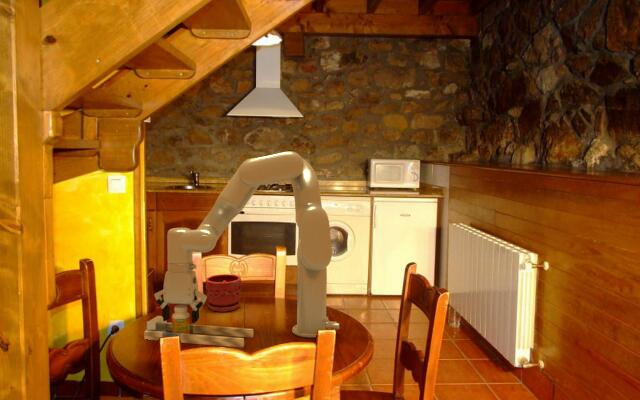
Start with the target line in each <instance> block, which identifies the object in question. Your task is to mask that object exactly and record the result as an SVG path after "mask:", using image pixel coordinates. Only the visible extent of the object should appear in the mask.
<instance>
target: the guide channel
mask: <svg viewBox="0 0 640 400" xmlns="http://www.w3.org/2000/svg"><path fill="white" fill-rule="evenodd" d="M143 331H144V330H143ZM143 334H144V336H143V337H144V340H146V339H148V340H149V341H158V340H159V338H160V337H167V336H176V335H179V336H180V340H181V342H180V343H184V344H194V345H195V344H196V345H208V346H210V345H211V346H220V347H230V348H231V347H232V348H244V347H245V338H248V339H249V338H251V339H252V338H254V329H253V328H245V327H244V328H243V327H231V326H217V325H205V324H204V325H203V324H194V323H191V324H190V334H184V333H172V322H167V320H166V321H163V317H162V315H156V316H155V317H153V318H152V319H150V320H148V321H146V330H145V331H144V333H143Z"/></svg>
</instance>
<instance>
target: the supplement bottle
mask: <svg viewBox="0 0 640 400" xmlns="http://www.w3.org/2000/svg"><path fill="white" fill-rule="evenodd" d="M173 311H174V312H173V313H172V315H171V323H172V331H171V333H184V334H191V333H190V322H191V320H190V319H191V318H190V317H191V316H190V312H188V304H176V305H174V308H173Z"/></svg>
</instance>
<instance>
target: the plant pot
mask: <svg viewBox="0 0 640 400" xmlns="http://www.w3.org/2000/svg"><path fill="white" fill-rule="evenodd" d="M205 290H206V291H205V292H206V296H207V299H208V300H209V301H208V302H209V303H208V307H209V309H210V310H212V311H214V312H224V313H225V312H231V311H234V310H236V309H237V308H239V307H240V301H239V299H240V296H241V290H242V277H241V276H240V275H237V274H231V273H228V274H227V273H224V274H215V275H214V274H213V275H211V276H208V277H207V278H205Z"/></svg>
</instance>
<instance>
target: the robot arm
mask: <svg viewBox="0 0 640 400" xmlns="http://www.w3.org/2000/svg"><path fill="white" fill-rule="evenodd" d="M287 180H289V182H290V183H291V184H290V185H292V190H293V198H294V208H295V209H294V210H295V223H296V225H297V227H298V234H299V235H298V236H299V243H298V245H297V250H296V263H297V291H296V292H297V295H296V296H297V300H296V301H297V302H296V303H297V305H296V306H297V307H296V308H297V311H296V312H297V313H296V320H297V321H296V323H297V324H295V325H293V327H292V330H291V331H292V333H293V334H294V335H296V336H298V337H301V338H317V337H316V335H317V330H318V329H331V330H332V329H333V330H340V323H339V322H337V321H331V320H329V316H327V294H328V293H327V289H328V288H327V287H328V286H327V284H328V279H327V278H328V276H327V275H328V274H327V273H328V270H327V267H328V266H329V264H330V263H331V261H332V255H333V251H332V250H333V249H332V237H331V228H330V221H329V215H328V214H327V212H326V210H325V209H324V208H323V207H322V198H321V197H322V196H321V189H320V183H319V179H318V175H317V173H316V171H315V170H314V168H313V166H312V165H311V164H310V163H309V162H308V161H307V160H306V159H304V158H302V156H301V155H300V154H299V153H298V152H296V151H290V150H289V151H288V150H287V151H283V152H279V153H275V154H269V155H265V156H259V157H252V158H247V159H245V160H244V161H243V162H242V163H241V164H240V166H239V167H238V168H237V170H236V171H235V173H234V174H233V175H232V177H231V178H230V180H229V181H228V183H227V184H226V185H225V186H224V188H223V190H222V191H221V192H220V193H219V195H218V197H217V199H216V200H215V203H214V204H213V206H212V208H211V209H210V211H209V212H208V213H207V215H206V216H205V218H204V219H203V220H202V221H201V223H200V225H199V226H198V227H197V228H196V229H191V228H188V227H174V228H170V229H168V231H167V234H166V235H167V236H166V238H167V243H166V245H167V248H166V249H167V271H165V275H164V280H163V289H162V290H159V291H158V292H155V293H154V295H153V296H154V298H155V300H156V302H157V304H158V305H159V307H160V308H161V310H162V311H161V312H162V313H161V316H162V317H163V321H166V322H167V321H168V320H169V319H171V314H170V312H171V310H170V309H171V308H170V307H171V306H170V304H173V305H174V304H176V305H189V306H190V307H191V309H192V310H191V324H195V323H197V322H198V321H199V319H200V309H201V307H203V306H204V304H205V302H206V300H207V299H208V297H207V294H204V293H203V292H201V291H200V290H199V288H198V285H199V284H198V279H197V274H196V271H195V269H197V264H195V263H194V261H193V252H195V253H202V254H203V253H204V254H205V253H208V252H211V251H212V250H214V248H215V247H216V246H217V245H216V244H217V243H218V240H219V238H221V235H222V234H223V233H224V232H225V230H226V229H227V227H228V226H229V224H230V223H231V222H232V221H233V220H234V219H235V218H236V217H237V216H238V215H239V214H240V213H241V212H242V211H243V209H244V208H245V207H246V205H247V203H248V202H249V201H250V199H251V198H252V196H253V195H254V194H255V193H256V191H257V190H258V188H259V187H260V186H263V185H268V184H273V183H274V184H275V183H278V182H284V181H287ZM162 295H163V297H162ZM198 300H200V301H199V302H198Z"/></svg>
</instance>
